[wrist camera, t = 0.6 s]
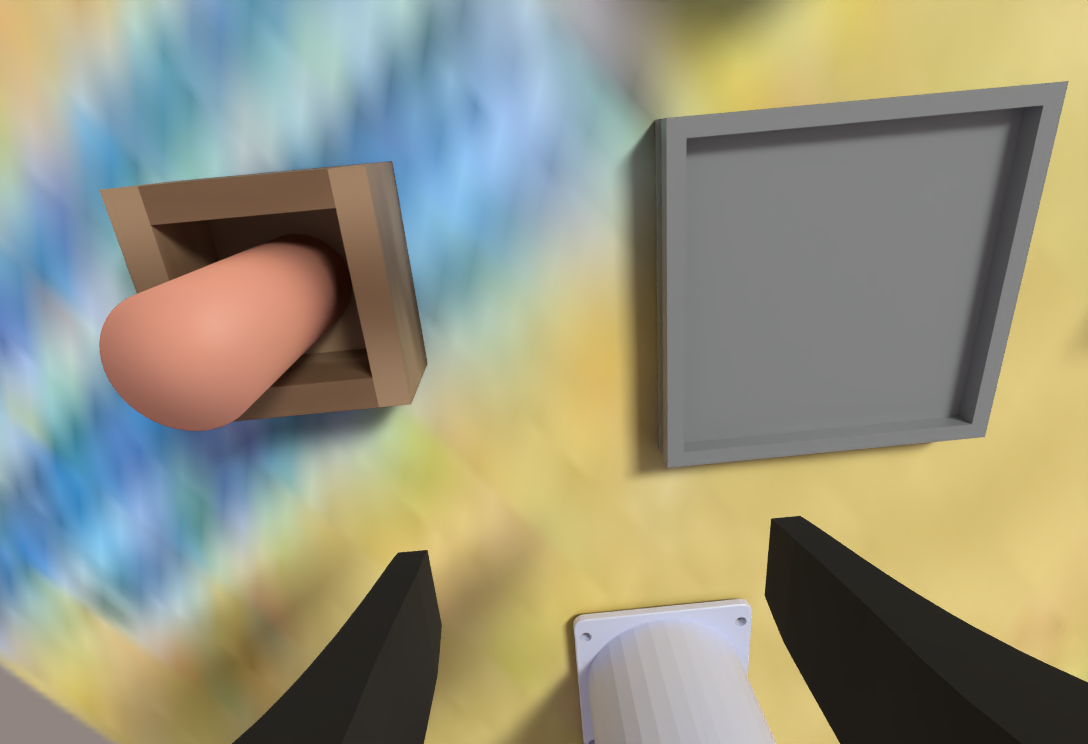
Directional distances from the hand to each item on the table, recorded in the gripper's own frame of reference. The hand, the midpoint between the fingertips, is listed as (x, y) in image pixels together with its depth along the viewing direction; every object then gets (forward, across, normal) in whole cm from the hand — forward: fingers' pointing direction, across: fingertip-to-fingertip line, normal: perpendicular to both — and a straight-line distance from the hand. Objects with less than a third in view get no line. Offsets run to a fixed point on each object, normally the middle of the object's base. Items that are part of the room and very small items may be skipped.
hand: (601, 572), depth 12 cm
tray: (+10, -10, -3) cm, 14 cm away
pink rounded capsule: (+10, +8, -5) cm, 14 cm away
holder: (+10, +8, -5) cm, 14 cm away
